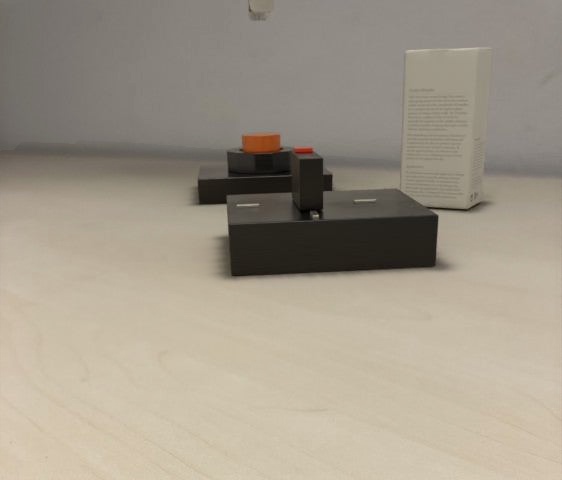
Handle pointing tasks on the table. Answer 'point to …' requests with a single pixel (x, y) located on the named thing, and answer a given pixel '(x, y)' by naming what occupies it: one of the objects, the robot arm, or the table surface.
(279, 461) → the table surface
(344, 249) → the panel
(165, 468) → the table surface
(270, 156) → the button block
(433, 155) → the cosmetic box
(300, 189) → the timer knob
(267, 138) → the button
